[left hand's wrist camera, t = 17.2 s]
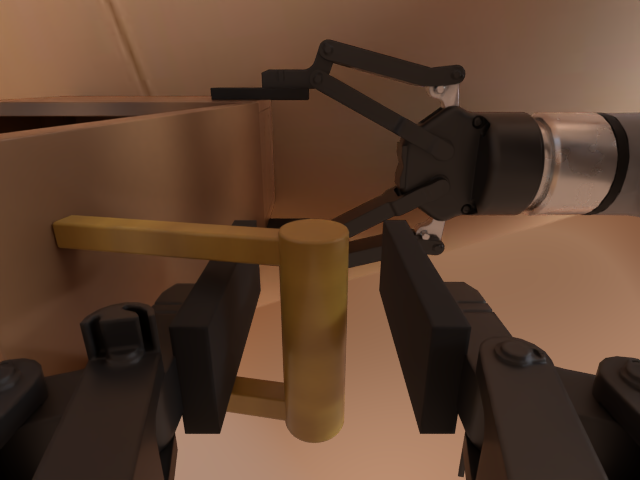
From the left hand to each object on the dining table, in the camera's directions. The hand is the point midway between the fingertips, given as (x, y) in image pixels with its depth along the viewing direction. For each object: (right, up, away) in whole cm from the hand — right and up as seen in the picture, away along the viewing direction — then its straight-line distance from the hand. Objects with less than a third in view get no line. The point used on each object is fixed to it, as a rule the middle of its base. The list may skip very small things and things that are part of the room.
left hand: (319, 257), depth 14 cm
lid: (-6, +1, +3) cm, 7 cm away
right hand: (-7, +6, +16) cm, 19 cm away
